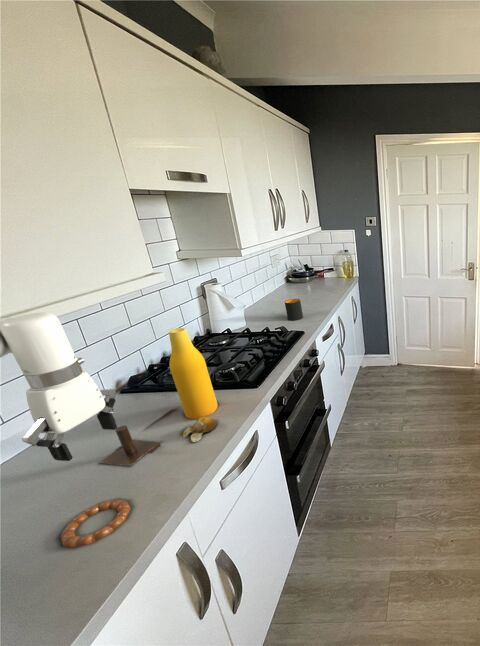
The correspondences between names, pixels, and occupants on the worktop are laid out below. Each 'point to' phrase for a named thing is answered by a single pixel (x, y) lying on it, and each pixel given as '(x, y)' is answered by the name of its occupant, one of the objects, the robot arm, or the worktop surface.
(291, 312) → the mug
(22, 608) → the worktop surface
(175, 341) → the beer bottle
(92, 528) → the worktop surface
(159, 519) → the worktop surface
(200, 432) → the fruit
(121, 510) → the ring
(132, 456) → the brown peg stand
